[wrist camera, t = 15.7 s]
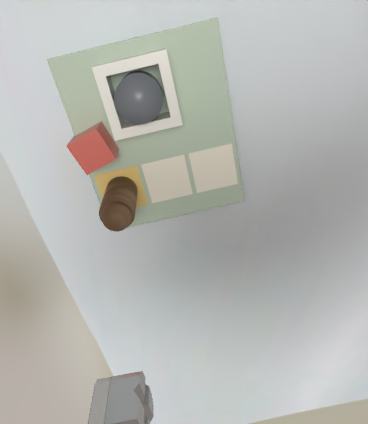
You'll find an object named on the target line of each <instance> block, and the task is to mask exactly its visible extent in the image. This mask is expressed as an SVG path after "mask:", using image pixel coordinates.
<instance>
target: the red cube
mask: <svg viewBox="0 0 368 424" xmlns="http://www.w3.org/2000/svg"><path fill="white" fill-rule="evenodd" d="M67 147H68V149H69V150H70V152H71V153H72V154H73V156H74V157H75V159H76V160H77V162H78V163H79V164H80V166H81V167H82V169H83V170H84V171H85V173H86V174H87V175H88V174H90V173H92V172H94V171H96V170H97V169H99V168H101V167H103V166H105V165H107V164H109V163H110V162H112V161H114V160H116V158H117V155H118V152H119V148H118V147H117V145H116V143H115V142H114V140H113V139H112V137H111V135H110V134H109V132H108V131H107V129H106V127H105V126H104V124H103V123H102V121H101V122H99V123H97V124H96V125H94V126H92V127H90V128H88V129H87V130H85V131H83V132H81V133H79V134H78V135H76V136H74V137H73V138H72V140H71V141H70V142H69V143H68V145H67Z"/></svg>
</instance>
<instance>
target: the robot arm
mask: <svg viewBox="0 0 368 424" xmlns="http://www.w3.org/2000/svg"><path fill="white" fill-rule="evenodd" d="M152 418H153V399H152V394H151V391H150V388H149V386H148V385H146V384H145V376H144V374H143V371H141V372H135V373H129V374H124V375H118V376H112V377H107V378H102V379H98V380H97V381H96V383H95V386H94V392H93V397H92V403H91V408H90V414H89V420H88V424H150V421H151V420H152Z"/></svg>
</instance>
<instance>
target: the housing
mask: <svg viewBox="0 0 368 424" xmlns="http://www.w3.org/2000/svg"><path fill="white" fill-rule="evenodd" d="M155 64H158V65H159V69H160V73H161V78H162V82H163V86H164V91H165V95H166V99H167V104H168V108H169V112H165V113H161V114H158V116H157V117H156V118H155V119H154V120H153V121H151V122H149V123H146V124H141V125H138V124H132V123H130V122H128V121H127V122H124V121H123V118H122V117H121V116H120V114H119V113H118V111H117V109H116V107H115V103H114V94H115V90H114V87H113V83H112V80H111V77H110V75H113V74H118V73H122V72H126V71H130V70H134V69H138V68H142V67H147V66H151V65H155ZM92 70H93V73H94V77H95V80H96V83H97V86H98V89H99V92H100V96H101V99H102V102H103V105H104V108H105V111H106V115H107V118H108V121H109V124H110V127H111V130H112V134H113V137H114V140H115V141H117V140H121V139H125V138H130V137H134V136H138V135H142V134H147V133H151V132H155V131H159V130H164V129H168V128H172V127H176V126H181V125H183V124H182V119H181V115H180V110H179V106H178V101H177V96H176V92H175V87H174V83H173V78H172V73H171V69H170V64H169V59H168V55H167V50H166V48H164V49H160V50H156V51H152V52H148V53H144V54H140V55H135V56H131V57H127V58H123V59H119V60H115V61H111V62H107V63H102V64H98V65H95V66H93V67H92Z"/></svg>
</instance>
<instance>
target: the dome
mask: <svg viewBox="0 0 368 424" xmlns="http://www.w3.org/2000/svg"><path fill="white" fill-rule="evenodd" d="M114 103H115V107H116V109H117V111H118V113H119V114H120V116H121V117H122V118H123V119H125V120H126V121H128V122H130V123H132V124H138V125H141V124H146V123H149V122H151V121H153V120H154V119H155V118H156V117H157V116H158V114H159V113H160V111H161V108H162V103H163V98H162V90H161V86H160V84H159V82H158V80H157V79H156V78H155V77H154V76H153V75H152V74H150V73H148V72H146V71H140V70H139V71H133V72H130V73H128V74H127V75H126V76H125V77H124V78H123V79H122V80H121V82H120V83H119V84H118V86H117V88H116V90H115V94H114Z"/></svg>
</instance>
